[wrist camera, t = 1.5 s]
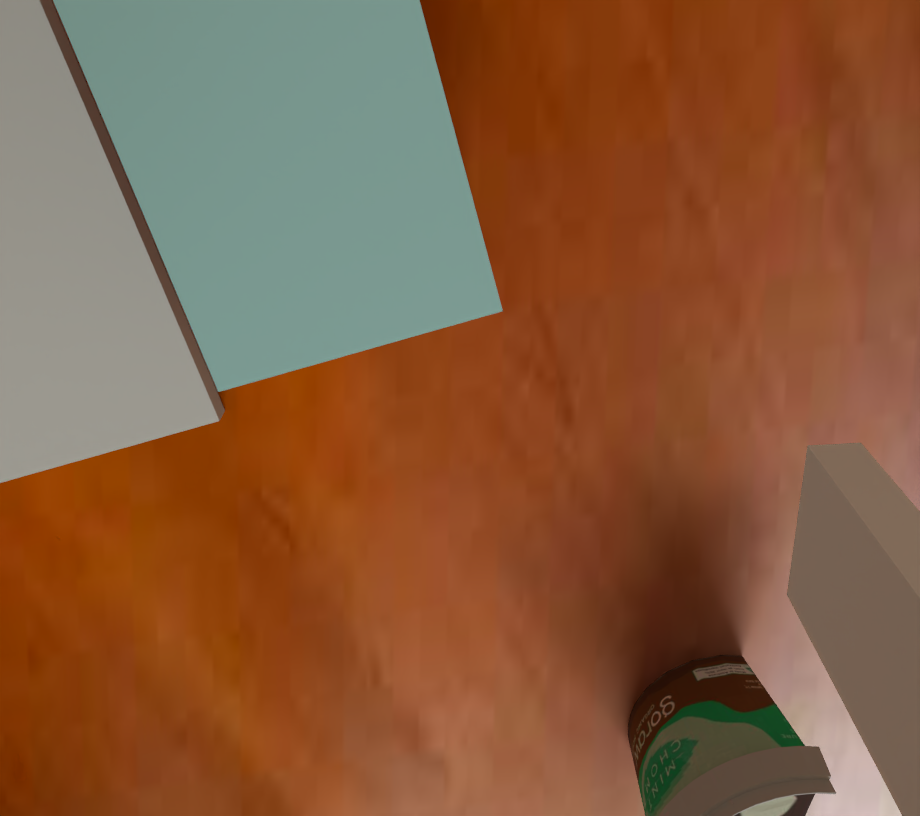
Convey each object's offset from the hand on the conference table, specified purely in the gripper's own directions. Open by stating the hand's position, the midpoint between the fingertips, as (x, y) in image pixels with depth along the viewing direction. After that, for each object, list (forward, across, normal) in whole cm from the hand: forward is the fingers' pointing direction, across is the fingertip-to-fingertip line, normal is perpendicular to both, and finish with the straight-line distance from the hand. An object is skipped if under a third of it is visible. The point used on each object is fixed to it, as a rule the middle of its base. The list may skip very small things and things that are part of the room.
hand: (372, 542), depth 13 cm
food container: (+23, -10, +29) cm, 39 cm away
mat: (+23, +18, 0) cm, 29 cm away
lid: (+18, +4, -5) cm, 19 cm away
